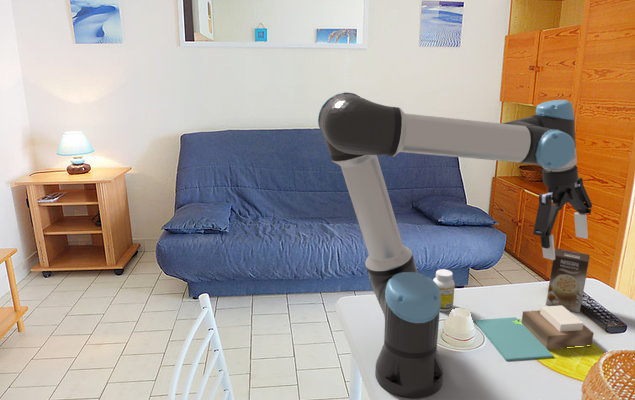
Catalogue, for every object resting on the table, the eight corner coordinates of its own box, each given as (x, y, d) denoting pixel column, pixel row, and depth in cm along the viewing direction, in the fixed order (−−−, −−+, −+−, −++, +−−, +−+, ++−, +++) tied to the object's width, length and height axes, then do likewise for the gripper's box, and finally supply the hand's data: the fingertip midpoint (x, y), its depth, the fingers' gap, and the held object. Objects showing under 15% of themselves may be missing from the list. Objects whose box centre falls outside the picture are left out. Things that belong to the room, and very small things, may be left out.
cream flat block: (559, 331, 119) (560, 324, 118) (539, 313, 127) (540, 306, 127) (582, 330, 119) (583, 323, 119) (561, 312, 128) (562, 305, 127)
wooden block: (546, 350, 118) (548, 335, 117) (521, 324, 129) (522, 311, 128) (591, 346, 119) (593, 332, 118) (562, 321, 131) (564, 308, 129)
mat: (506, 360, 114) (506, 358, 114) (474, 321, 131) (474, 319, 131) (553, 357, 115) (553, 355, 115) (515, 318, 132) (515, 317, 132)
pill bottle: (435, 299, 143) (437, 266, 140) (455, 305, 140) (458, 271, 137) (428, 308, 138) (430, 274, 135) (448, 314, 135) (451, 279, 132)
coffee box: (544, 305, 140) (552, 254, 135) (547, 296, 145) (554, 247, 140) (580, 313, 135) (588, 261, 130) (581, 304, 140) (590, 253, 135)
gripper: (541, 185, 103) (549, 272, 109) (605, 151, 114) (609, 231, 120) (511, 182, 109) (520, 263, 116) (574, 150, 120) (580, 226, 127)
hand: (566, 247), depth 118 cm, fingers open, 13 cm apart
